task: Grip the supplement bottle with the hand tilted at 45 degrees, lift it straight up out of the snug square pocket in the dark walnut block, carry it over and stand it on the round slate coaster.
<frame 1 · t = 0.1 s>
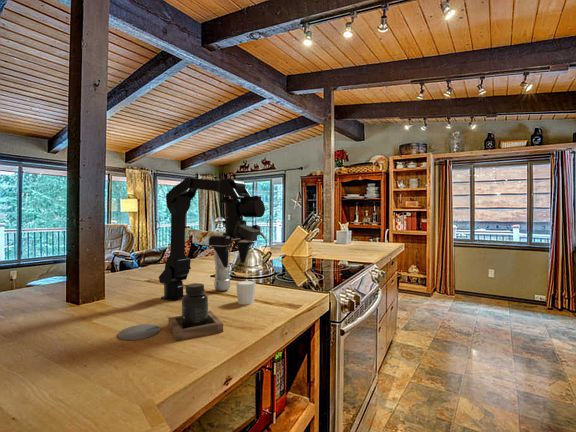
hand: (234, 264, 103), 15 cm above the countertop, tool pointing down, fingers open, 9 cm apart
slate coaster: (139, 332, 84), on the countertop
supplement bottle: (195, 329, 87), resting in pocket block
plastic bottle: (222, 290, 128), on the countertop
pocket block: (195, 328, 87), on the countertop
shot glass: (246, 302, 112), on the countertop
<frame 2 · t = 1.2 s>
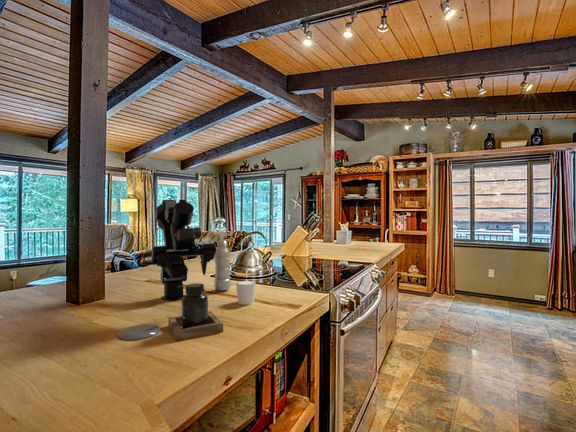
hand: (189, 275, 93), 13 cm above the countertop, tool tilted 45°, fingers open, 9 cm apart
nothing on the countertop moved.
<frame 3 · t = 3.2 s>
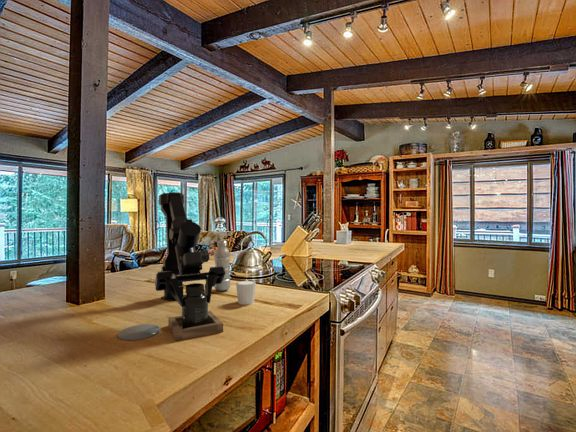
hand: (196, 304, 85), 7 cm above the countertop, tool tilted 45°, fingers closed on supplement bottle, 7 cm apart
supplement bottle: (195, 329, 87), resting in pocket block, touching gripper
everything else where it was.
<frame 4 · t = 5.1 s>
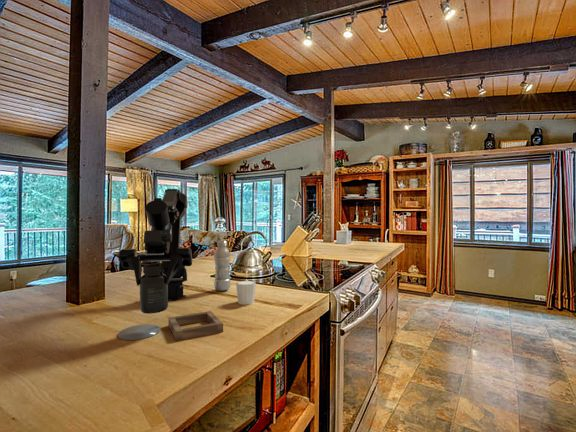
hand: (152, 284, 83), 13 cm above the countertop, tool tilted 45°, fingers closed on supplement bottle, 7 cm apart
supplement bottle: (154, 310, 84), point 6 cm above the countertop, touching gripper
everything else where it was.
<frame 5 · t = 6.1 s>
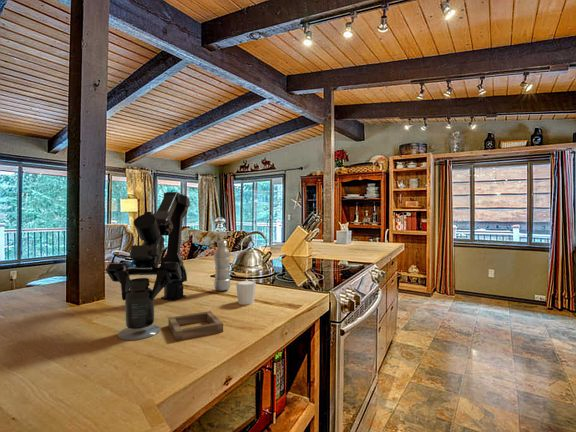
hand: (137, 299, 82), 9 cm above the countertop, tool tilted 45°, fingers closed on supplement bottle, 7 cm apart
supplement bottle: (140, 325, 84), point 2 cm above the countertop, touching gripper
everything else where it was.
when the fingers open (8 cm above the countertop, at t = 6.8 s): supplement bottle stays where it is, resting on slate coaster.
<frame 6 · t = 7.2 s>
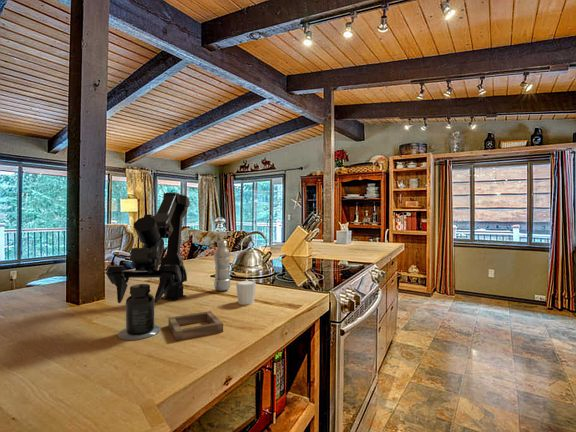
hand: (137, 302, 82), 9 cm above the countertop, tool tilted 45°, fingers open, 9 cm apart
supplement bottle: (140, 331, 84), resting on slate coaster
everything else where it was.
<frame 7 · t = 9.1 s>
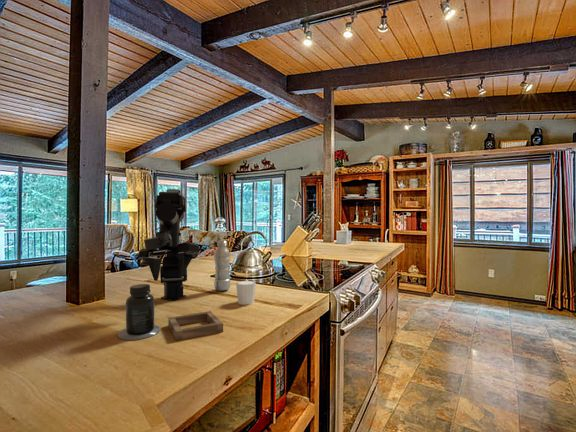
hand: (168, 279, 96), 11 cm above the countertop, tool tilted 15°, fingers open, 9 cm apart
nothing on the countertop moved.
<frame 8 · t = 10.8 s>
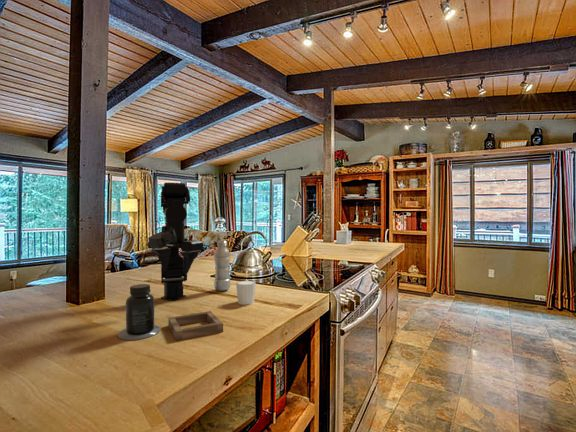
hand: (175, 272, 100), 13 cm above the countertop, tool pointing down, fingers open, 9 cm apart
nothing on the countertop moved.
at the end: supplement bottle 0.3 cm from the slate coaster (horizontally); supplement bottle tilted 0°; supplement bottle touching slate coaster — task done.
